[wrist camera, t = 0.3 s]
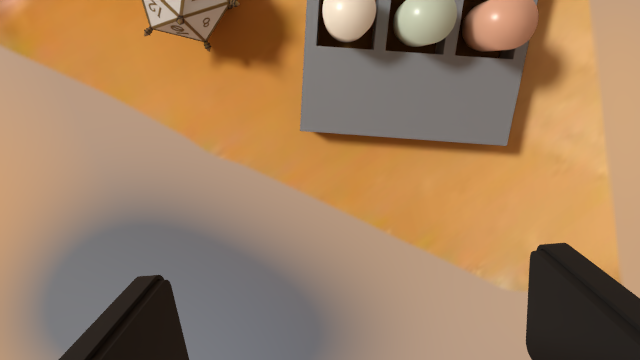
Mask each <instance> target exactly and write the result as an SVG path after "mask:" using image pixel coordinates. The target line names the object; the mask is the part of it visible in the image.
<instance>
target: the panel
mask: <svg viewBox="0 0 640 360" xmlns="http://www.w3.org/2000/svg"><path fill="white" fill-rule="evenodd" d="M454 1H455V3H456V7H457V18H456V22H455V25H454V27H453V29H452V30H451V32H450V33H449V34H448V35H447V36H446V37H445V38H444V39H443V40H441V41H439V42H437V43H436V50H435V54H427V53H412V52H398V51H385V49H386V40H387V31H388V22H389V13H390V4H391V0H376V15H375V19H374V23H373V33H372V43H371V50H369V49H355V48H340V47H326V46H318V33H319V17H320V0H307V9H306V28H305V48H304V67H303V86H302V105H301V124H300V131H309V132H323V133H337V134H351V135H364V136H378V137H392V138H405V139H419V140H433V141H446V142H460V143H474V144H488V145H501V146H507V143H508V138H509V133H510V128H511V124H512V119H513V114H514V110H515V105H516V100H517V96H518V91H519V86H520V81H521V77H522V72H523V67H524V63H525V58H526V53H527V49H528V44H529V40H528V41H527V42H526V43H524V44H523V45H521V46H520V47H517V48H514V49H509V50H501V52H500V57H499V58H485V57H470V56H456V55H455V52H456V46H457V40H458V34H459V27H460V21H461V15H462V9H463V3H464V0H454ZM533 1H534V2H535V4H536V6H537V1H538V0H533Z"/></svg>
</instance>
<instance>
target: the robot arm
mask: <svg viewBox="0 0 640 360" xmlns="http://www.w3.org/2000/svg"><path fill="white" fill-rule="evenodd" d="M526 331H527V332H526V345H527V350H528V353H529V355H530V357H531V359H532V360H640V298H638V297H637V296H636V295H634V294H633V293H632V292H630V291H629V290H628V289H626V288H625V287H624V286H622V285H621V284H620V283H618V282H617V281H616V280H615V279H613V278H612V277H611V276H609V275H608V274H607V273H605V272H604V271H603V270H601V269H600V268H599V267H597V266H596V265H595V264H593V263H592V262H591V261H589V260H588V259H587V258H585V257H584V256H583V255H581V254H580V253H579V252H577V251H576V250H575V249H573V248H572V247H571V246H570V245H568V244H566V243H556V244H544V245H539V246H538V248H537V251H533V252H531V255H530V268H529V288H528V309H527V330H526ZM59 360H189V357H188V353H187V349H186V345H185V341H184V337H183V333H182V329H181V324H180V321H179V316H178V312H177V308H176V304H175V300H174V296H173V292H172V288H171V284H170V282H169V281H168V280H164V278H163V277H162V276H161V275H153V276H140V277H137V278H136V279H134V281H133V282H132V283H131V284H130V285H129V286H128V287H127V288H126V289H125V290H124V291H123V292H122V293H121V294H120V295H119V296H118V297H117V299H116V300H115V301H114V302H113V303H112V304H111V305H110V306H109V307H108V308H107V309H106V310H105V311H104V312H103V313H102V314H101V315H100V317H99V318H98V319H97V320H96V321H95V322H94V323H93V324H92V325H91V326H90V327H89V328H88V329H87V330H86V332H84V333H83V334H82V336H81V337H80V338H79V339H78V340H77V341H76V342H75V343H74V344H73V345H72V346H71V347H70V348H69V349H68V350H67V351H66V352H65V354H64V355H63V356H62V357H61V358H60V359H59Z"/></svg>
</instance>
